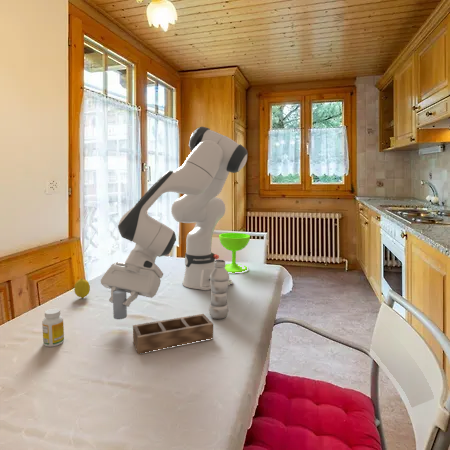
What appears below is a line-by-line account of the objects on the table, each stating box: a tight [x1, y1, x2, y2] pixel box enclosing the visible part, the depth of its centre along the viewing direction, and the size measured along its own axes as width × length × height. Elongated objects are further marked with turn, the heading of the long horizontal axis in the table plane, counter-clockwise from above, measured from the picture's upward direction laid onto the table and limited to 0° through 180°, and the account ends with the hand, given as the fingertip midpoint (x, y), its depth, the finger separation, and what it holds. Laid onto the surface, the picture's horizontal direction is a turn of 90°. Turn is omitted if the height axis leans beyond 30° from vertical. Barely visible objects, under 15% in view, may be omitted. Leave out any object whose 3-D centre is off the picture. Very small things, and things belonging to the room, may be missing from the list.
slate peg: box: [112, 290, 128, 320], centre depth 106 cm, size 4×4×8 cm
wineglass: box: [218, 232, 251, 273], centre depth 175 cm, size 16×16×18 cm
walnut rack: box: [132, 313, 214, 355], centre depth 100 cm, size 22×8×5 cm, turn 115°
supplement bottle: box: [41, 307, 65, 348], centre depth 97 cm, size 5×5×10 cm
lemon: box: [73, 277, 91, 299], centre depth 131 cm, size 6×6×8 cm
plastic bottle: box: [208, 259, 230, 320], centre depth 116 cm, size 6×7×20 cm
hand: (118, 303), depth 105 cm, fingers closed on slate peg, 4 cm apart
